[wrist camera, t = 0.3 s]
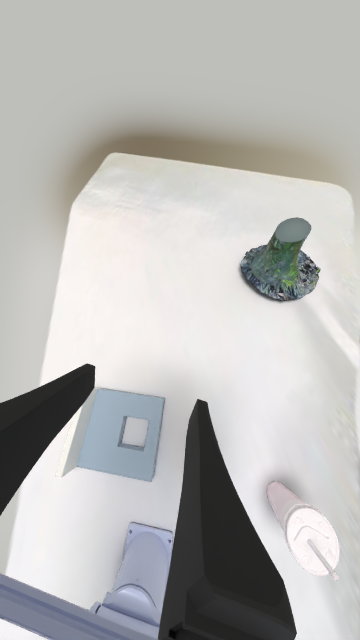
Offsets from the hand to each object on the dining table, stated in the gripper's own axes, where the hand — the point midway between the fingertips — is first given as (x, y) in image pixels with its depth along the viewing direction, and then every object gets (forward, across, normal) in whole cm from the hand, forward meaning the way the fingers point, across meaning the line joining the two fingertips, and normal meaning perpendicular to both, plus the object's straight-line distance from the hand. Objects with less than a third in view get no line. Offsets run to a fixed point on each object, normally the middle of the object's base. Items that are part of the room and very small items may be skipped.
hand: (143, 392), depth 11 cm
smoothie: (+11, -26, +27) cm, 39 cm away
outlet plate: (+14, +6, +28) cm, 32 cm away
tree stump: (+44, -21, -8) cm, 49 cm away
